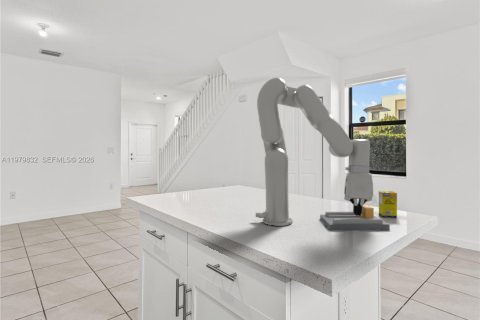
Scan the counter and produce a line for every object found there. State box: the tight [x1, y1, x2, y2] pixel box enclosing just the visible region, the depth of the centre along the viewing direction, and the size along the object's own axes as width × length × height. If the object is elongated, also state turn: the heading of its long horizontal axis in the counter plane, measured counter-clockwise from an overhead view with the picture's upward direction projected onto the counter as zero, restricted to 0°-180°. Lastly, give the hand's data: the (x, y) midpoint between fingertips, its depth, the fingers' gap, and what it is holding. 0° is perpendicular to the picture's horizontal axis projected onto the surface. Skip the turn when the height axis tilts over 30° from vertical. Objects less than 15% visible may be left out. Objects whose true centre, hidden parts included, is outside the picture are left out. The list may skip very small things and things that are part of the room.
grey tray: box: [324, 210, 384, 224], centre depth 111 cm, size 18×14×2 cm
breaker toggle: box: [361, 205, 375, 218], centre depth 111 cm, size 3×5×5 cm, turn 176°
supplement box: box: [378, 190, 398, 219], centre depth 123 cm, size 6×6×11 cm
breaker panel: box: [319, 214, 391, 231], centre depth 111 cm, size 22×16×3 cm
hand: (357, 214), depth 111 cm, fingers closed
